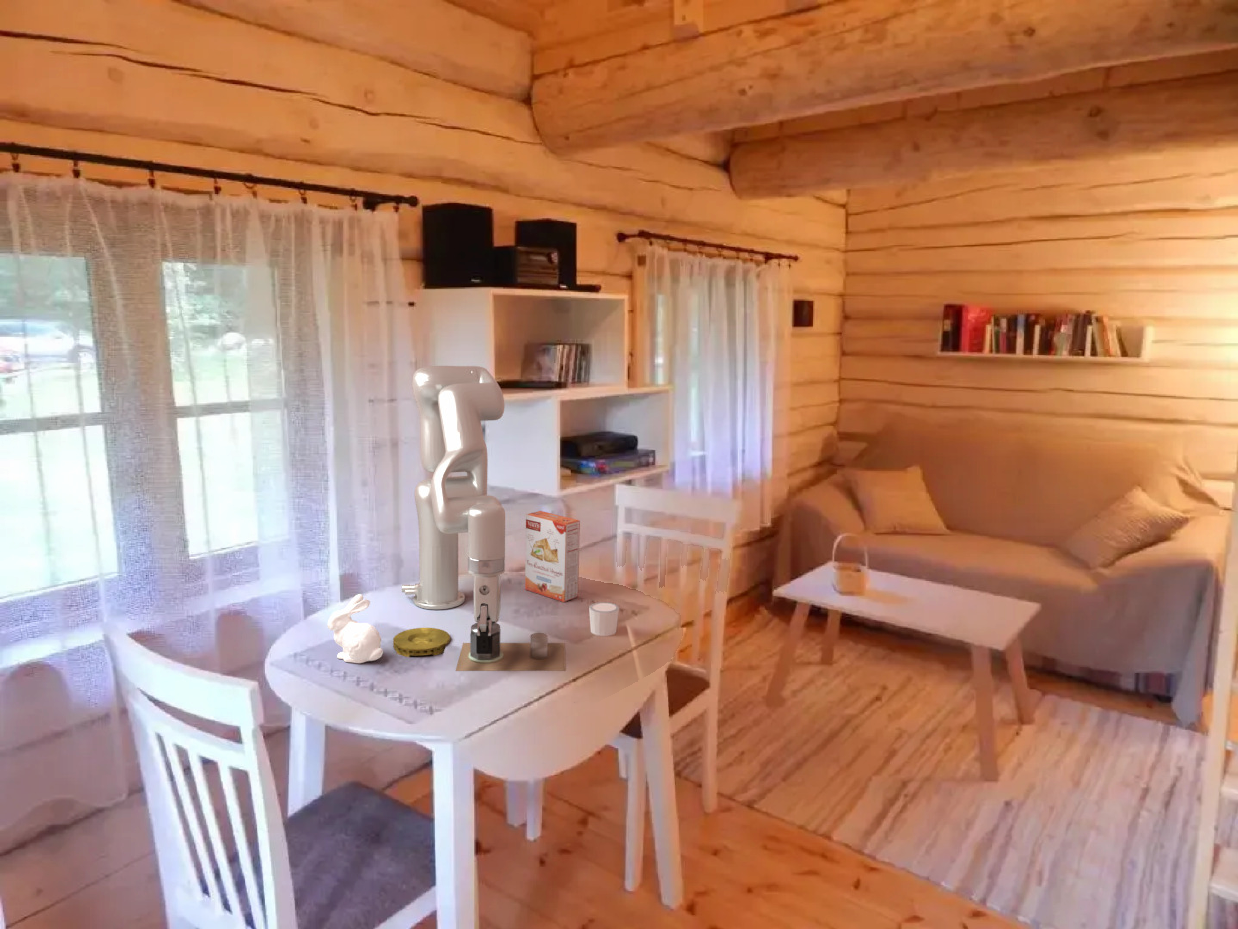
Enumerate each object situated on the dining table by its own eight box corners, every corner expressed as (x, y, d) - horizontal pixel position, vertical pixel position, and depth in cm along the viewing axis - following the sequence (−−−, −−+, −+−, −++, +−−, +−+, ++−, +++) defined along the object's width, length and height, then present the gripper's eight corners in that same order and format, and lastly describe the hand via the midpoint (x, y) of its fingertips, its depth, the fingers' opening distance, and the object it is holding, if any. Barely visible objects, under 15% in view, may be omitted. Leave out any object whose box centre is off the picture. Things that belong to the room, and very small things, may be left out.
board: (455, 676, 165) (455, 649, 164) (463, 648, 179) (463, 623, 178) (565, 676, 167) (565, 649, 166) (564, 648, 181) (564, 623, 180)
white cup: (601, 628, 193) (602, 599, 192) (624, 635, 189) (625, 606, 188) (582, 636, 188) (582, 607, 187) (605, 644, 184) (605, 614, 182)
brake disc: (392, 660, 172) (391, 650, 172) (394, 638, 184) (394, 629, 184) (450, 657, 175) (450, 647, 175) (449, 635, 187) (449, 626, 186)
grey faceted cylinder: (498, 660, 170) (499, 631, 169) (469, 660, 169) (469, 631, 168) (500, 648, 176) (501, 621, 175) (472, 648, 175) (472, 620, 174)
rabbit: (323, 658, 172) (321, 603, 170) (355, 642, 180) (353, 590, 178) (369, 670, 167) (368, 614, 165) (399, 653, 175) (398, 599, 173)
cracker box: (523, 590, 217) (524, 513, 213) (539, 585, 221) (540, 509, 218) (563, 603, 208) (565, 523, 205) (579, 597, 213) (581, 519, 209)
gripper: (502, 578, 161) (501, 662, 164) (507, 552, 178) (506, 629, 181) (463, 577, 160) (463, 662, 163) (472, 551, 177) (471, 629, 180)
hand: (486, 644), depth 172 cm, fingers open, 7 cm apart
